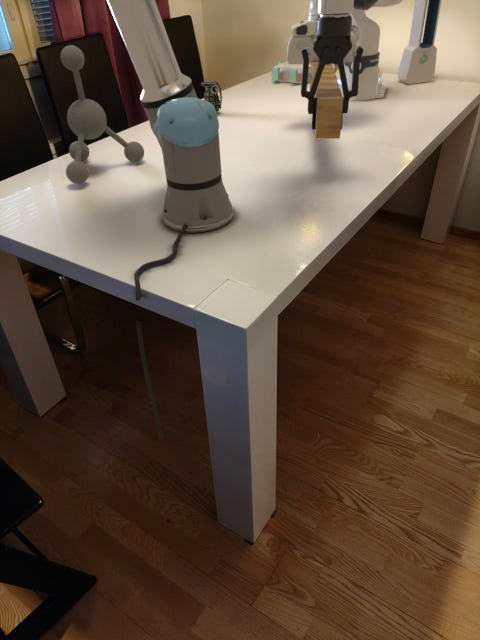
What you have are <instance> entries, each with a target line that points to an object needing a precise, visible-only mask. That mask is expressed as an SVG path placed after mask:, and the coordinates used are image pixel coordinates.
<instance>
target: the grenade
mask: <svg viewBox="0 0 480 640" xmlns="http://www.w3.org/2000/svg"><path fill="white" fill-rule="evenodd" d="M200 85H201V86H202V87H205V88H206V91H205V92H204V96H203V100H206V101H208V102H210V103H211V104H212V105H213V106H214V107H215V109H216V112H217V113H218V112H220V110H221V109H222V101H223V93H222V88H221V85H220V83H219V82H218V81H202V82H201V83H200Z"/></svg>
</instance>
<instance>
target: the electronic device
mask: <svg viewBox="0 0 480 640" xmlns="http://www.w3.org/2000/svg"><path fill="white" fill-rule="evenodd" d="M441 7H442V0H415V1H414V5H413V13H412V20H411V27H410V33H409V41H408V45H406V47H405V48H403V52H402V56H401V60H400V63H399V66H398V70H397V78H398V80H399V82H401V83H405V84H406V85H413V84H414V85H415V84H421V83H428V82H432V81H433V80H434V79H435V74H436V63H437V54H438V48H437V47H436V45H435V40H436V36H437V29H438V23H439V17H440V13H441Z"/></svg>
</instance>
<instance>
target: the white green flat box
mask: <svg viewBox="0 0 480 640" xmlns="http://www.w3.org/2000/svg"><path fill="white" fill-rule="evenodd" d="M310 69H311V64H309V69H308V73H310ZM302 71H303V64H288V63H287V61H277V64H276V65H274V67H272V68H271V81H272V82H273V81H274V82H281V83H290V84H291V83H292V84H302ZM307 83H310V80H308V81H307Z"/></svg>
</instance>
